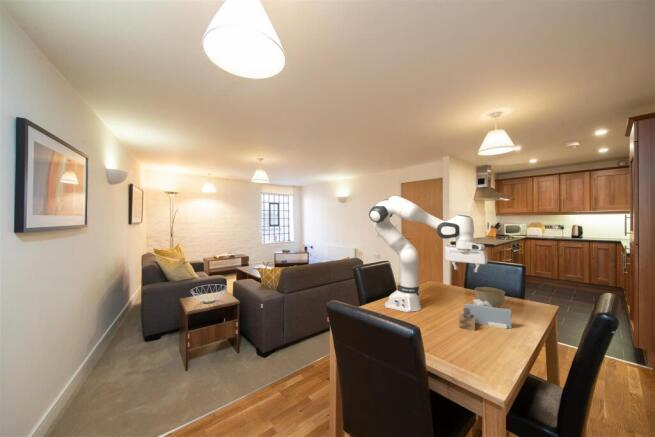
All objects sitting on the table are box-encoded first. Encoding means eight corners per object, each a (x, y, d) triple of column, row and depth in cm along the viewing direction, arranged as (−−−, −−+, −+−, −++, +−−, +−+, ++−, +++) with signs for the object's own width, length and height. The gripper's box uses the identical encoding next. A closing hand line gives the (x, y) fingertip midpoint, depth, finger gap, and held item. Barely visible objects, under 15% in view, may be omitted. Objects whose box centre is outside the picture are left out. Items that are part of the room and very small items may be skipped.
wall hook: (501, 317, 143) (496, 300, 144) (481, 320, 145) (477, 303, 146) (495, 312, 151) (490, 295, 152) (476, 315, 153) (472, 299, 154)
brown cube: (459, 328, 132) (459, 310, 132) (459, 323, 139) (459, 306, 138) (474, 330, 129) (474, 313, 129) (474, 325, 135) (474, 308, 135)
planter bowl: (509, 308, 159) (509, 290, 159) (498, 314, 150) (497, 295, 150) (482, 301, 172) (482, 285, 172) (470, 306, 163) (469, 289, 163)
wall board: (464, 322, 139) (464, 305, 139) (464, 319, 143) (464, 303, 143) (511, 329, 130) (511, 311, 130) (510, 326, 133) (510, 309, 133)
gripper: (442, 244, 143) (443, 269, 142) (484, 246, 128) (485, 274, 128) (447, 243, 147) (448, 267, 147) (488, 245, 132) (488, 272, 132)
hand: (465, 270), depth 137 cm, fingers open, 8 cm apart
